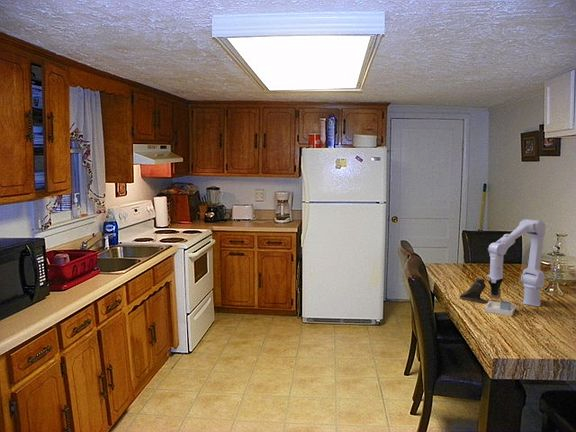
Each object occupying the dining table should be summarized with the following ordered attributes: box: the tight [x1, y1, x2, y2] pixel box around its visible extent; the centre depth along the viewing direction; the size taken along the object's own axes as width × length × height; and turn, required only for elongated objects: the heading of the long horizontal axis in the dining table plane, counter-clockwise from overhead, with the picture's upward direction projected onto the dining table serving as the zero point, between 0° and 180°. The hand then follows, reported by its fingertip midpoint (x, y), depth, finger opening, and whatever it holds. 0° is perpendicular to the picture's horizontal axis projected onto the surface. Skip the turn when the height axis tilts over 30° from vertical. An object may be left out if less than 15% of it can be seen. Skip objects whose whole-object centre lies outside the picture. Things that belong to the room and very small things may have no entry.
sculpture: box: [459, 277, 487, 305], centre depth 235 cm, size 6×13×13 cm, turn 43°
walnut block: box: [490, 288, 502, 300], centre depth 218 cm, size 4×4×4 cm
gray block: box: [500, 300, 512, 311], centre depth 217 cm, size 4×4×4 cm
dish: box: [484, 300, 516, 317], centre depth 218 cm, size 12×12×2 cm
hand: (495, 294), depth 218 cm, fingers closed on walnut block, 4 cm apart
